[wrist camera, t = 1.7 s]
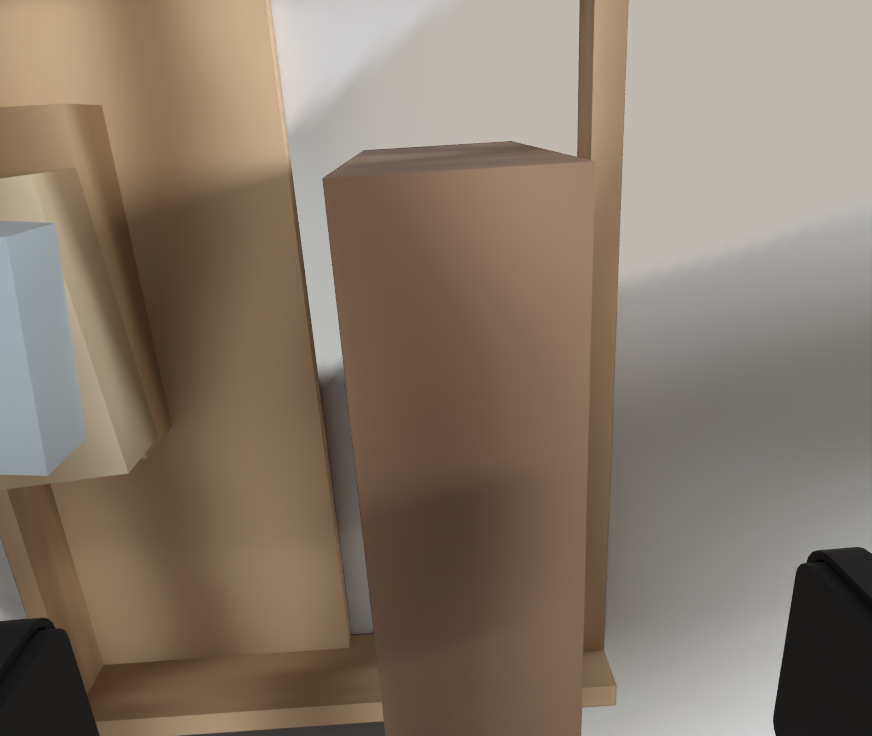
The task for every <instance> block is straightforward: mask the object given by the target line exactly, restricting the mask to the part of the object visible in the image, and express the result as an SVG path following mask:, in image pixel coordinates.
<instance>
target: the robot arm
mask: <svg viewBox="0 0 872 736" xmlns="http://www.w3.org/2000/svg"><path fill="white" fill-rule="evenodd" d="M773 724H774V730H775V734H776V736H872V554H871V553H870V552H868V551H867V550H865V549H864V548H859V547H853V548H841V549H829V550H818V551H815V552H812V553H811V554H810V556H809V557H808V560H807V563H804V564H801V565H800V566H799V567H798V568H797V572H796V576H795V583H794V589H793V595H792V602H791V608H790V614H789V621H788V627H787V633H786V640H785V646H784V652H783V659H782V665H781V671H780V678H779V684H778V690H777V697H776V703H775V710H774V716H773ZM0 736H100V735H99V732H98V729H97V725H96V722H95V719H94V716H93V713H92V709H91V706H90V703H89V700H88V697H87V693H86V690H85V687H84V684H83V681H82V678H81V674H80V671H79V668H78V665H77V662H76V658H75V655H74V652H73V649H72V646H71V642H70V639H69V636H68V634H67V632H66V631H65V630H64V629H60V628H58V629H56V628H55V626H54V624H53V622H52V621H50V620H49V619H48V618H32V619H21V620H9V621H0Z"/></svg>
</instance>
